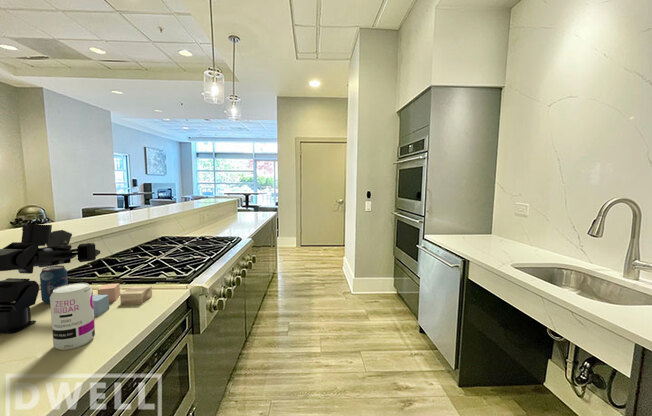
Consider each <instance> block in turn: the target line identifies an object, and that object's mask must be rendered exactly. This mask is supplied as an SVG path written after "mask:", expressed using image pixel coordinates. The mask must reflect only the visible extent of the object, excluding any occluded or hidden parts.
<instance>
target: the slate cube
mask: <svg viewBox="0 0 652 416" xmlns="http://www.w3.org/2000/svg"><path fill="white" fill-rule="evenodd" d="M93 307H94V317H96V316H97V317H98V316H99V317H100V316H101V315H102V314H103V313H105V312H106V311H108V310H110V302H109V295H98V294H93Z"/></svg>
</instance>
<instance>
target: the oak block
mask: <svg viewBox="0 0 652 416" xmlns="http://www.w3.org/2000/svg"><path fill="white" fill-rule="evenodd" d="M151 297H153V286H152V285H142V286H140V285H138V286H135V285H134V286H130V287H129V288H127V289H126V290H124V291H122V292H120V297H119V299H120V305H134V304H135V305H137V304H138V305H140V304H143V303H145V302H146V301H147V300H149V299H150V298H151Z"/></svg>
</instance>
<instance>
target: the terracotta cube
mask: <svg viewBox="0 0 652 416" xmlns="http://www.w3.org/2000/svg"><path fill="white" fill-rule="evenodd" d="M120 288H121V287H120V283H109V284H102V285H100V287H99V288H97V295H109V303H110V302H116V301H117V300H118V299H120V297H119V296H120V294H121V291H120V290H121V289H120Z"/></svg>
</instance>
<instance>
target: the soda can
mask: <svg viewBox="0 0 652 416" xmlns="http://www.w3.org/2000/svg"><path fill="white" fill-rule="evenodd" d="M39 280H40V281H39V282H40V295H41V296H40V297H41V301H42V302H43V303H44V304H47V303H50V296H51V294H52V293H53V290H54V289H56V288H58V287H61V286H65V285H69V284H68V283H69V281H68V270H67V269H66V268H65V265H54V266H48V267H42V268H41V272H40V273H39Z"/></svg>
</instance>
